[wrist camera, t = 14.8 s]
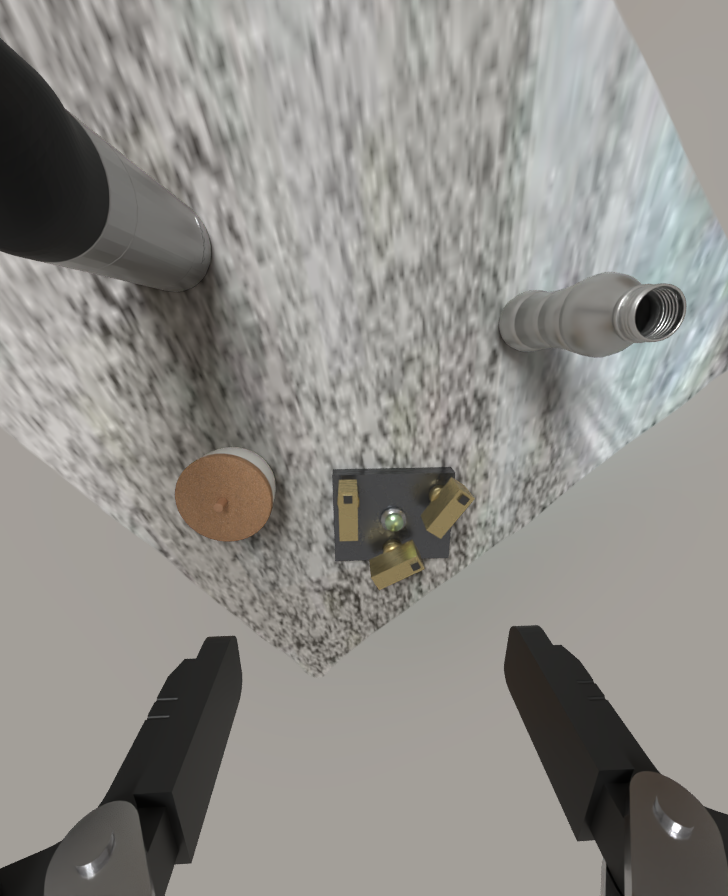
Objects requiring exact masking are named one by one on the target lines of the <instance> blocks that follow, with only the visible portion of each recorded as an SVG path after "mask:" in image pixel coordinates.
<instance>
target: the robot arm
mask: <svg viewBox="0 0 728 896" xmlns="http://www.w3.org/2000/svg"><path fill="white" fill-rule="evenodd" d="M0 251H2V252H5V253H8V254H11V255H14V256H19V257H23V258H27V259H31V260H36V261H40V262H44V263H49V264H53V265H57V266H62V267H66V268H70V269H75V270H80V271H84V272H88V273H93V274H97V275H101V276H105V277H110V278H114V279H118V280H123V281H127V282H131V283H135V284H140V285H144V286H147V287H152V288H156V289H161V290H165V291H170V292H179V291H184V290H188V289H190V288H192V287H194V286H195V285H196V284H198V283H199V282H200V281H201V280H202V279H203V277H204V276H205V274H206V272H207V270H208V268H209V265H210V259H211V244H210V240H209V235H208V233H207V231H206V228H205V226H204V224H203V223H202V221H201V220H200V218H199V217H198V216H197V214H196V213H195V212H194V211H193V210H192V209H191V208H190V207H188V206H187V205H186V204H185V203H183V202H182V201H181V200H180V199H178V198H177V197H176V196H175V195H173V194H172V193H171V192H170V191H169V190H167V189H166V188H165V187H164V186H162V185H161V184H160V183H159V182H157V181H156V180H155V179H153V178H152V177H151V176H150V175H148V174H147V173H146V172H145V171H143V170H142V169H141V168H140V167H138V166H137V165H136V164H135V163H133V162H132V161H131V160H130V159H128V158H127V157H126V156H124V155H123V154H122V153H121V152H119V151H118V150H117V149H116V148H114V147H113V146H112V145H111V144H109V143H108V142H107V141H106V140H104V139H103V138H102V137H101V136H99V135H98V134H97V133H95V132H94V131H93V130H91V129H90V128H89V127H88V126H86V125H85V124H84V123H83V122H81V121H80V120H79V119H78V118H76V117H75V116H74V115H72V114H71V113H70V112H69V111H67V110H66V109H65V108H64V107H63V105H62V103H61V102H60V100H59V98H58V97H57V95H56V94H55V92H54V91H53V90H52V88H51V87H50V86H49V85H48V83H47V82H46V81H45V80H44V79H43V78H42V76H41V75H40V74H39V73H38V72H37V71H36V70H35V69H34V68H33V67H31V66H30V65H29V64H28V63H27V62H26V61H25V60H24V59H23V58H21V57H20V56H19V55H18V54H17V53H16V52H15V51H14V50H13V49H12V48H10V47H9V46H8V45H7V44H6V43H5V42H4V41H3V40H2V39H1V38H0ZM504 673H505V678H506V683H507V686H508V688H509V691H510V693H511V696H512V698H513V700H514V702H515V704H516V706H517V709H518V711H519V713H520V715H521V718H522V720H523V722H524V724H525V727H526V729H527V731H528V733H529V735H530V738H531V740H532V742H533V744H534V747H535V749H536V751H537V753H538V755H539V757H540V760H541V762H542V764H543V766H544V769H545V771H546V773H547V775H548V777H549V779H550V782H551V784H552V786H553V788H554V791H555V793H556V795H557V797H558V800H559V802H560V804H561V806H562V809H563V811H564V813H565V815H566V817H567V819H568V822H569V824H570V826H571V828H572V831H573V833H574V835H575V837H576V839H577V841H589V840H595V841H596V843H597V845H598V847H599V849H600V851H601V853H602V856H603V861H602V871H601V896H728V815H727V814H724V813H721V812H718V811H715V810H712V809H709V808H707V807H705V806H703V805H702V804H701V803H700V801H699V800H698V799H696V797H695V796H693V795H692V794H691V793H690V792H689V791H688V790H687V789H685V788H684V787H683V786H681V785H680V784H679V783H677V782H675V781H674V780H672V779H670V778H668V777H666V776H664V775H662V774H660V773H659V771H658V770H657V769H656V768H655V766H654V765H653V764H652V762H651V761H650V759H649V758H648V757H647V755H646V754H645V752H644V751H643V749H642V748H641V747H640V745H639V744H638V742H637V741H636V740H635V738H634V737H633V735H632V734H631V732H630V731H629V730H628V728H627V727H626V726H625V724H624V723H623V721H622V720H621V718H620V717H619V716H618V714H617V713H616V711H615V710H614V708H613V707H612V706H611V704H610V703H609V702H608V700H606V699H605V697H604V694H603V693H602V692H601V690H600V689H599V687H598V686H597V684H594V682H593V679H592V678H591V676H590V675H589V673H588V672H587V670H586V669H585V668H584V666H583V665H582V663H581V662H580V661H579V660H578V659H577V658H576V657H575V656H574V655H572V654H571V653H570V652H569V651H568V650H567V649H565V648H564V647H563V646H562V645H553V644H552V643H551V641H550V640H549V638H548V637H547V635H546V634H545V632H544V631H543V630H542V628H541V627H540V626H538V625H533V626H512V627H511V628H510V631H509V637H508V643H507V650H506V656H505V662H504ZM241 689H242V670H241V664H240V657H239V650H238V644H237V639H236V637H235V636H220V637H219V636H217V637H207V638H206V640H205V641H204V643H203V645H202V647H201V649H200V652H199V654H198V656H197V658H196V659H184V660H183V662H182V663H181V664H180V665H179V666H178V667H177V668H176V669H175V670H174V671H173V672H172V673H171V674H170V675H169V676H168V678H167V680H166V682H165V684H164V685H163V687H162V689H161V691H160V693H159V695H158V697H157V701H156V702H155V703H154V705H153V706H152V708H151V710H150V712H149V714H148V718H147V720H145V722H144V724H143V726H142V728H141V729H140V731H139V733H138V735H137V737H136V739H135V741H134V743H133V745H132V747H131V749H130V750H129V752H128V754H127V756H126V758H125V760H124V762H123V764H122V766H121V768H120V769H119V771H118V773H117V775H116V777H115V779H114V781H113V783H112V785H111V787H110V789H109V790H108V792H107V794H106V796H105V797H104V799H103V801H102V802H101V804H100V805H99V806H98V808H96V809H95V810H93V811H92V812H90V813H89V814H88V815H86V816H85V817H84V818H83V819H81V820H80V821H79V822H78V823H77V824H76V825H75V826H74V827H73V828H72V829H71V830H70V831H69V833H68V834H67V835H66V836H65V838H64V839H63V840H62V841H60V842H58V843H57V844H55V845H53V846H51V847H49V848H47V849H45V850H43V851H40V852H38V853H35V854H33V855H31V856H28V857H26V858H24V859H21V860H19V861H17V862H15V863H12V864H10V865H8V866H5V867H3V868H1V869H0V896H165V892H166V889H167V886H168V883H169V880H170V877H171V874H172V871H173V867H174V865H175V864H188V863H191V862H192V859H193V856H194V852H195V849H196V846H197V842H198V839H199V835H200V832H201V829H202V825H203V822H204V818H205V815H206V812H207V808H208V805H209V802H210V798H211V795H212V791H213V788H214V785H215V781H216V778H217V774H218V771H219V768H220V764H221V761H222V758H223V754H224V751H225V747H226V744H227V740H228V737H229V734H230V731H231V727H232V723H233V720H234V717H235V713H236V710H237V707H238V703H239V700H240V695H241Z"/></svg>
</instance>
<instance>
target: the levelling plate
mask: <svg viewBox="0 0 728 896" xmlns="http://www.w3.org/2000/svg"><path fill="white" fill-rule="evenodd" d="M451 477H452V478H454V479H455V472H454V470H453V469H452V468H451V467H436V468H386V469H337V470H333V475H332V478H333V506H334V534H335V561H355V560H370V559H372V558H374V557H376V556H378V555H380V554H383V545H384V543H385V542H386V541H388V540H391V539H396V540H398V541H400V542H401V543H402V544H404V543H406V542H408V541H410V540H413V542H414V543H415V545H416V547H417V549H418V550H419V553H420V556H421V558H448V556H449V543H450V531H451V527H450V529H449V530H448V531H447V532H446V533H445V535H444V536H443V537H442V538H441V539H440V538H438V537H437V536H435V535H433V534H432V533H430V532H429V531H427V530H426V528H425V525H424V523H423V520H422V518H421V514H422V513H423V512H424V510H425V509H426V508H427V507H428V506H429V504H430V503H431V501H430V499H429V491H430V490H431V489H432V488H433V487H434V486H436V485H443V486H445V485H446V483H447V482H448V481H449V480H450V478H451ZM339 480H357V492H358V494H359V507H358V541H340V537H339V508H338V505H337V499H338V487H339Z"/></svg>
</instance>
